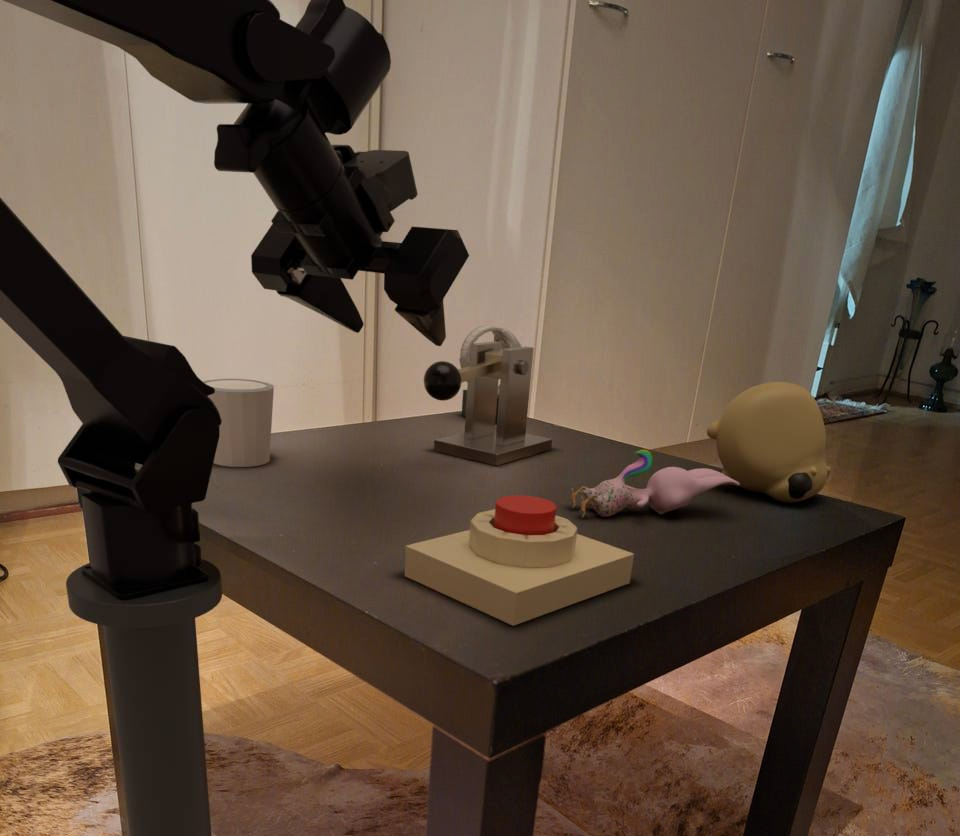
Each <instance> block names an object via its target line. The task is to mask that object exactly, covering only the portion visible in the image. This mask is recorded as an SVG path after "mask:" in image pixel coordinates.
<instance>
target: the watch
mask: <svg viewBox="0 0 960 836" xmlns="http://www.w3.org/2000/svg"><path fill="white" fill-rule="evenodd" d="M488 332H491V333H492V335H493V342H500V343H501V349H508V348H518V347H523V346H522V344H521V342H520V341H519V339H518V337H517V336H516V335H515V334H514V332H512V331H511V330H510V329H508V328H507V327H503V328H502V327H497V326H494V325H489V324H488V325H487V324H485V325H480V326H477V327H476V328H474V329H472V330H471V331H469V333H468V334H467V335H466V336H465V339H464V340H463V342H462V344H461V347H460V354H459V356H460V358H458V361H459V365H460V369H461V368H465V367H468V366H469V355H470V344H474V343H477V340H478V339H479V338H481V337H482V336H484V335H485V334H486V333H488ZM466 384H468V381H466ZM499 392H500V384H498V394H497V407H496V420H495V425H497V417H498V404H499ZM461 402H462V403H461V416H463V417H466V402H467V389H463V390H462V401H461Z"/></svg>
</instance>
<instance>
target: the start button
mask: <svg viewBox="0 0 960 836" xmlns="http://www.w3.org/2000/svg"><path fill="white" fill-rule="evenodd" d="M494 509H495V519H494V528H496V529H499V530H501V531H504V532H507V533H514V534H521V535H546V534H550V533H553V532H554V526H555V517H556V516H557V505H556V504H555V503H554V502H552V501H551V500H548V499H546V498H542V497H538V496H534V495H533V496H531V495H530V496H529V495H521V494H520V495H518V494H517V495H516V494H515V495H506V496H501V497H499V498H498V499H496V501H495V508H494Z"/></svg>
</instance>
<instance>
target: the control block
mask: <svg viewBox="0 0 960 836" xmlns="http://www.w3.org/2000/svg"><path fill="white" fill-rule="evenodd" d="M494 519H495V508H494V509H490V510H485V511H481V512H478V513H476V515H474V517H472V519H470V525H469V526H470V527H469V529H468V530H464V531H460V532H456V533H451V534H448V535H447V534H446V535H443V536H439V537H435V538H432V539H428V540H422V541H419V542H415V543H411V544H407V545H405V555H404V556H405V557H404V577H405V578H408V579H410V580H412V581H415V582H417V583H419V584H421V585H423V586H425V587H426V588H430V589H432V590H434V591H436V592H438V593H440V594H443V595H445V596H446V597H449V598H451V599H453V600H455V601H458V602H460V603H462V604H464V605H466V606H469V607H471V608H473V609H475V610H476V611H479V612H482V613H484V614H486V615H488V616H490V617H492V618H495V619H497V620H499V621H501V622H503V623H506V624H508V625H510V626H512V627H514V626H517V625H519V624H522V623H526V622H528V621H531V620H533V619H536V618H539V617H541V616H544V615H547V614H550V613H553V612H555V611H558V610H560V609H563V608H566V607H569V606H572V605H574V604H578V603H579V602H583V601H585V600H588V599H590V598H593V597H596V596H599V595H601V594H604V593H607V592H609V591H612V590H615V589H618V588H621V587H624V586H626V585H629V584H630V583H631V579H632V571H633V565H634V564H633V563H634V558H635V553H634V552H631V551H628V550H624V549H623V548H622V549H621V548H619V547H617V546H613V545H611V544H608V543H604V542H603V541H599V540H596V539H593V538H591V537H587V536H585V535H582V534H579V533H578V527H577V526H576V525H575V524H574V523H573V522H571V521H570V520H569V519H567V518H565V517H562V516H559V515H556V517H555V526H554V532H553V533H550V534H546V535H521V534H514V533H507V532H504V531H501V530H499V529H496V528H494Z"/></svg>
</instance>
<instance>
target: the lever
mask: <svg viewBox="0 0 960 836" xmlns="http://www.w3.org/2000/svg"><path fill="white" fill-rule="evenodd" d="M502 354H503V349H497V350H493V351H490V352H486V353H485V362H482V363H479V364H475V365H472V366H468V367H465V368H461V367H460V368H458V367H456V366H455V365H454V364H453V363H451V362H450V361H445V360H440V361H439V360H438V361H435V362H434V363H432V364H430V365H429V366H428V367H427V368H426V370H425V372H424V376H423V386H424V389H425V391H426V392H427V394H428V395H429V396H430V397H431V398H433V399H435V400H437V401H444V402H445V401H449V400H451V399H453V398H454V397H456V395H458V393H459V392H460V389H461V387H462V383H466V382H467V381H468V380H472V379H475V378H478V377H482V376H485V377H491V378H496V379H499V380H500V379H501V367H502Z"/></svg>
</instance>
